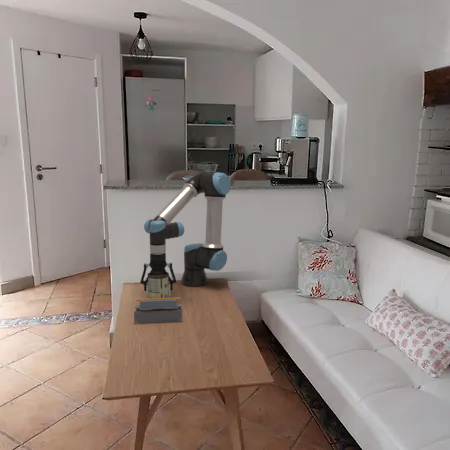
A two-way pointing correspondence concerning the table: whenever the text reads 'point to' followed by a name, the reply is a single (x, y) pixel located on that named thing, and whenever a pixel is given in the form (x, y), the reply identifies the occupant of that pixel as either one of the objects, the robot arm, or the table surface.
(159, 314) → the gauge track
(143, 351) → the table surface
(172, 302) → the carriage
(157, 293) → the coffee can
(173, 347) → the table surface
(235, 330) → the table surface
